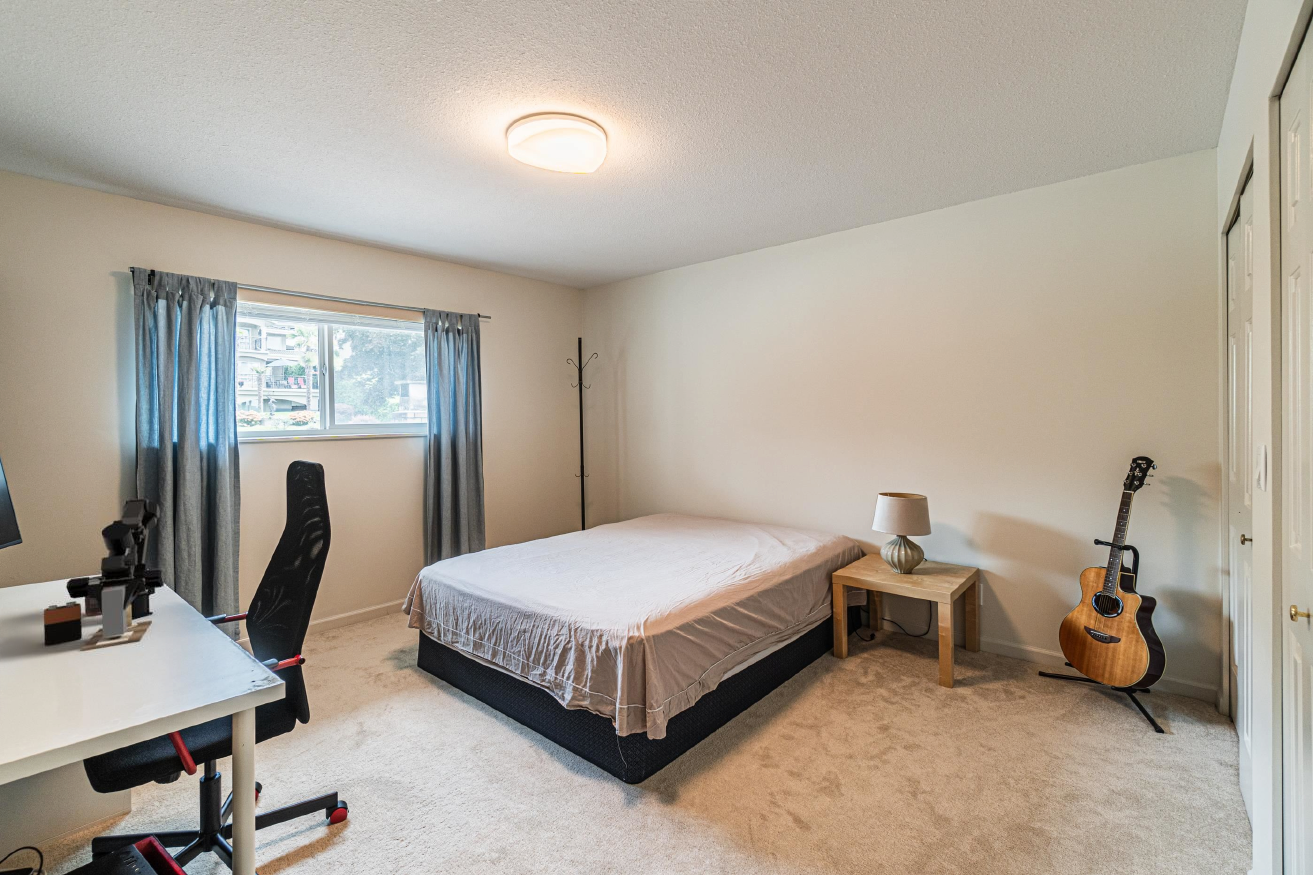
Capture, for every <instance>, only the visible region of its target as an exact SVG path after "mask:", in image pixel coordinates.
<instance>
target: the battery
mask: <svg viewBox="0 0 1313 875" xmlns="http://www.w3.org/2000/svg"><path fill="white" fill-rule="evenodd" d="M82 626H83V625H82V605H81V603H80V602H79V603H77V601H76V600H75V601H69V602H65V604H64V605H59V606H58V605H57V604H53V605H49V606H48V607H47V608H45V609H44V610H43V633H44V637H43V638H44V647H45V646H46V647H48V646H53V645H59V644H64V643H68V642H73V641H79V640H81V639H82V638H83V632H82V630H83V629H82V628H83V627H82Z"/></svg>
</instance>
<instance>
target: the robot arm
mask: <svg viewBox="0 0 1313 875" xmlns="http://www.w3.org/2000/svg"><path fill="white" fill-rule="evenodd" d="M160 510H161V509H160V506H159V504H158V503H156V502H153V501H149V499H148V498H132V499H128V500H125V504H123V505H122V513H121V514H122V515H121V518H120V519H118V520H113V522H112V523H111V524H108V525H107V526H105V527H104V528H103V529H102V531H101V537H102V539H103V542H104V543H103V544H104V545H105V548H106V550H107V551H108V555H107V557H106V556H105V557H102V558H101V564H100V571H101V575H100V576H102V577H104V580H101V579H94V580H90V578H91V577H90V576H85V577H83V576H82V577H74V578H70V579H69V580H68V581H67V582H66V587H65V588H66V590H67V592H68V595H69V597H70V598H71V599H79V598H81V599H82V598H85V597H88V596H89V597H90V598H95V599H96V600H97V602H98V605H99V608H100V611H101V613H102V591H103V590H104V588H110V587H120V586H126V596H125V599H124V604H123V609H124V610H125V609H126V608H127V607H128V606H129V605H130V604H131V611H132V620H135V619H138V618H143V617H145V616H150V615H154V612H153V611H151V609H150V596H151V595H154V594H156V589H157V588H162V587H164V586H165V576H164V572H163V569H161V568H153V569H152V568H151V569H148V567H147V565H146V563H145V560H146V555H147V554H146V553H147V547H148V539H149V531H150V530H151V529H153V528H154V527H155V526H156V525H157V520H158V519H160V515H161V511H160Z"/></svg>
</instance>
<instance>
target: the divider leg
mask: <svg viewBox="0 0 1313 875" xmlns="http://www.w3.org/2000/svg"><path fill="white" fill-rule="evenodd" d="M125 596H126V586H120V587H112V588H105V589H104V590H103V591H102V614H101V617H102V618H101V619H102V626H101V627H102V628H103V637H109V636H115V635H121V634H124V633H125V632H126V630H127V616H126V609H125V610H124V609H123V604H124V599H125Z"/></svg>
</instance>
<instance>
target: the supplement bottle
mask: <svg viewBox="0 0 1313 875" xmlns="http://www.w3.org/2000/svg"><path fill="white" fill-rule="evenodd" d="M89 578H90V580H94V579H101V580H104V577H102V575H98V576H91V577H89ZM110 588H112V587H110ZM104 589H105V588H104ZM84 612H85V615H86V616H87V617H89V616H91V617H95V616H102V613H101V611H100V608H99V605H98V602H97V600H96V599H95V598H90V597H89V596H88V597H84Z"/></svg>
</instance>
